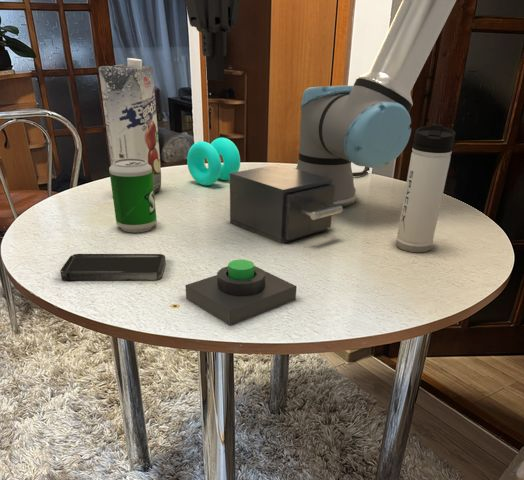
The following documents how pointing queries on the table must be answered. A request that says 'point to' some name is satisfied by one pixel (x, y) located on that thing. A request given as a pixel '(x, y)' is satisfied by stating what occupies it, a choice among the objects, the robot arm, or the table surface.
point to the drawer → (309, 211)
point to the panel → (240, 295)
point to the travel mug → (424, 187)
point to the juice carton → (131, 114)
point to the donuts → (213, 161)
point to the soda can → (133, 194)
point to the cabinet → (267, 198)
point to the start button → (241, 269)
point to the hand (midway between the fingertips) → (215, 79)
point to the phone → (114, 267)
